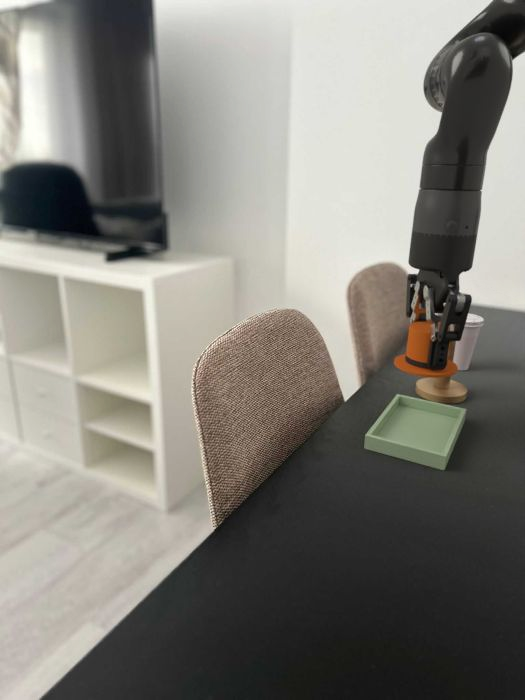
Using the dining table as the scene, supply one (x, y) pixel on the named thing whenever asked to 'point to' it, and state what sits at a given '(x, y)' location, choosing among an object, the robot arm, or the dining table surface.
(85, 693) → the dining table surface
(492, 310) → the dining table surface
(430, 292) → the robot arm
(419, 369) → the hat
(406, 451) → the tray
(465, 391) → the hat stand
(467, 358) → the smoothie
